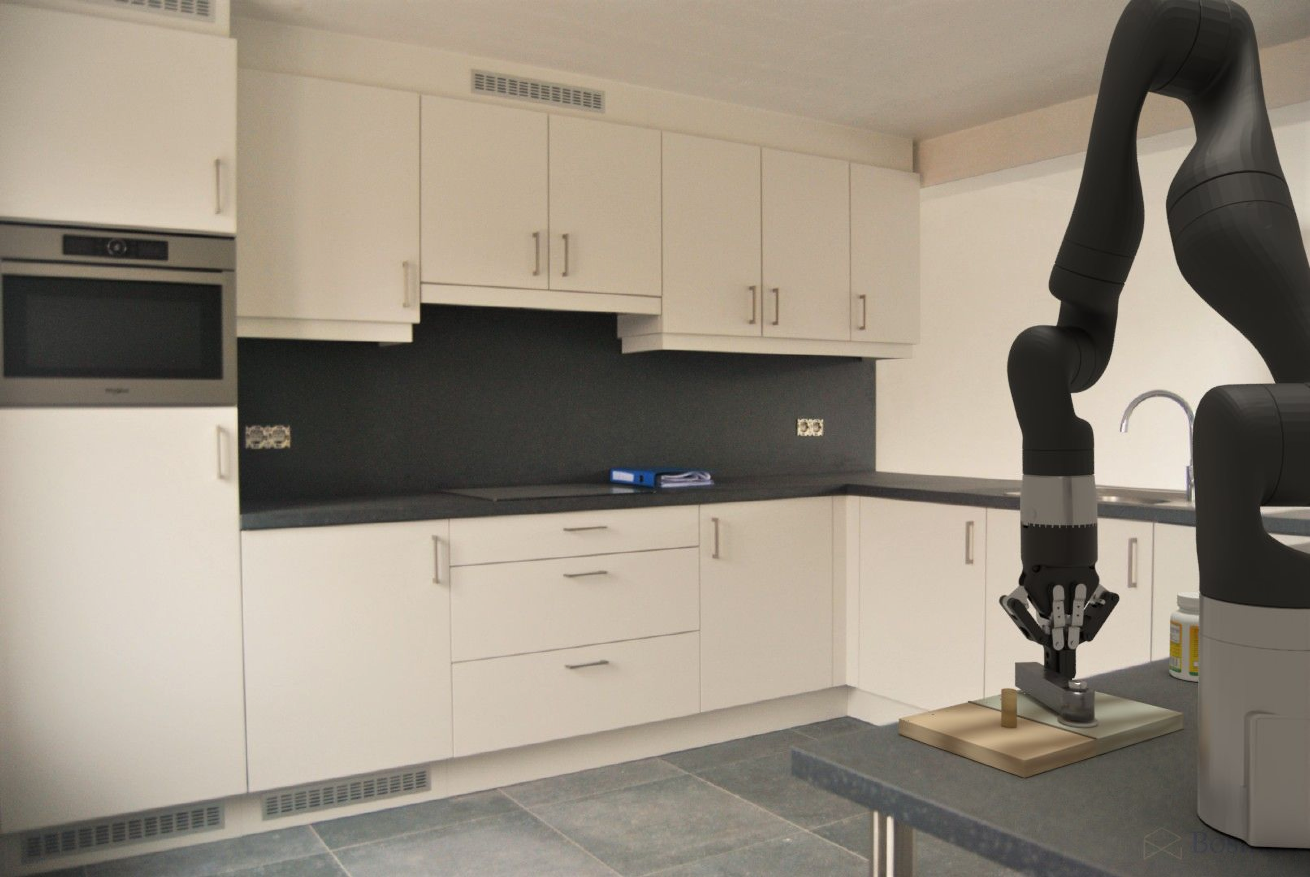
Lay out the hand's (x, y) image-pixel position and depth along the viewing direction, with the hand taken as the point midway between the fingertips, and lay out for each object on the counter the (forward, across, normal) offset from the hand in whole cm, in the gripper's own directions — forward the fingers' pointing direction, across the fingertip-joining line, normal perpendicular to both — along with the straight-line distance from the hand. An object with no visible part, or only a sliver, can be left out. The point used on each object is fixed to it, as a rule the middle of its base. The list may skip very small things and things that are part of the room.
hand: (1059, 682), depth 110 cm
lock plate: (+3, +6, +7) cm, 9 cm away
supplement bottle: (+3, -22, -8) cm, 24 cm away
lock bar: (0, +3, +5) cm, 6 cm away
